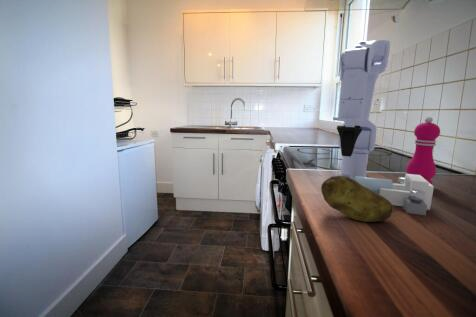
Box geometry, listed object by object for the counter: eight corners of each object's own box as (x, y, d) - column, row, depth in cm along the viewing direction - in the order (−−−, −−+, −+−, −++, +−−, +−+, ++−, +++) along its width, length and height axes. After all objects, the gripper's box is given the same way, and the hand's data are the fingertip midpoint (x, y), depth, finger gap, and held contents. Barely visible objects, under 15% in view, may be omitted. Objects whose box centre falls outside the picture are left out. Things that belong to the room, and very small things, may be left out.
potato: (385, 234, 45) (391, 190, 43) (314, 214, 53) (317, 176, 51) (392, 219, 51) (398, 180, 50) (328, 203, 59) (331, 169, 58)
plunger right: (405, 206, 57) (408, 188, 57) (420, 209, 56) (423, 190, 56) (408, 211, 55) (411, 192, 54) (423, 213, 54) (426, 194, 53)
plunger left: (395, 191, 68) (397, 176, 68) (407, 193, 67) (409, 177, 67) (397, 194, 66) (399, 179, 65) (409, 196, 65) (412, 180, 64)
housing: (373, 189, 71) (376, 167, 69) (416, 194, 67) (420, 171, 66) (381, 209, 56) (384, 182, 55) (436, 217, 53) (441, 188, 52)
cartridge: (335, 189, 69) (337, 172, 68) (387, 195, 64) (390, 178, 63) (335, 193, 65) (337, 175, 64) (390, 201, 61) (393, 182, 60)
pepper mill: (423, 182, 79) (434, 117, 76) (439, 189, 72) (452, 117, 69) (399, 181, 80) (408, 116, 76) (412, 188, 73) (423, 117, 69)
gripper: (335, 100, 72) (330, 148, 74) (333, 98, 59) (328, 156, 61) (363, 101, 69) (357, 150, 72) (368, 98, 56) (361, 159, 59)
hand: (346, 153), depth 66 cm, fingers open, 7 cm apart
